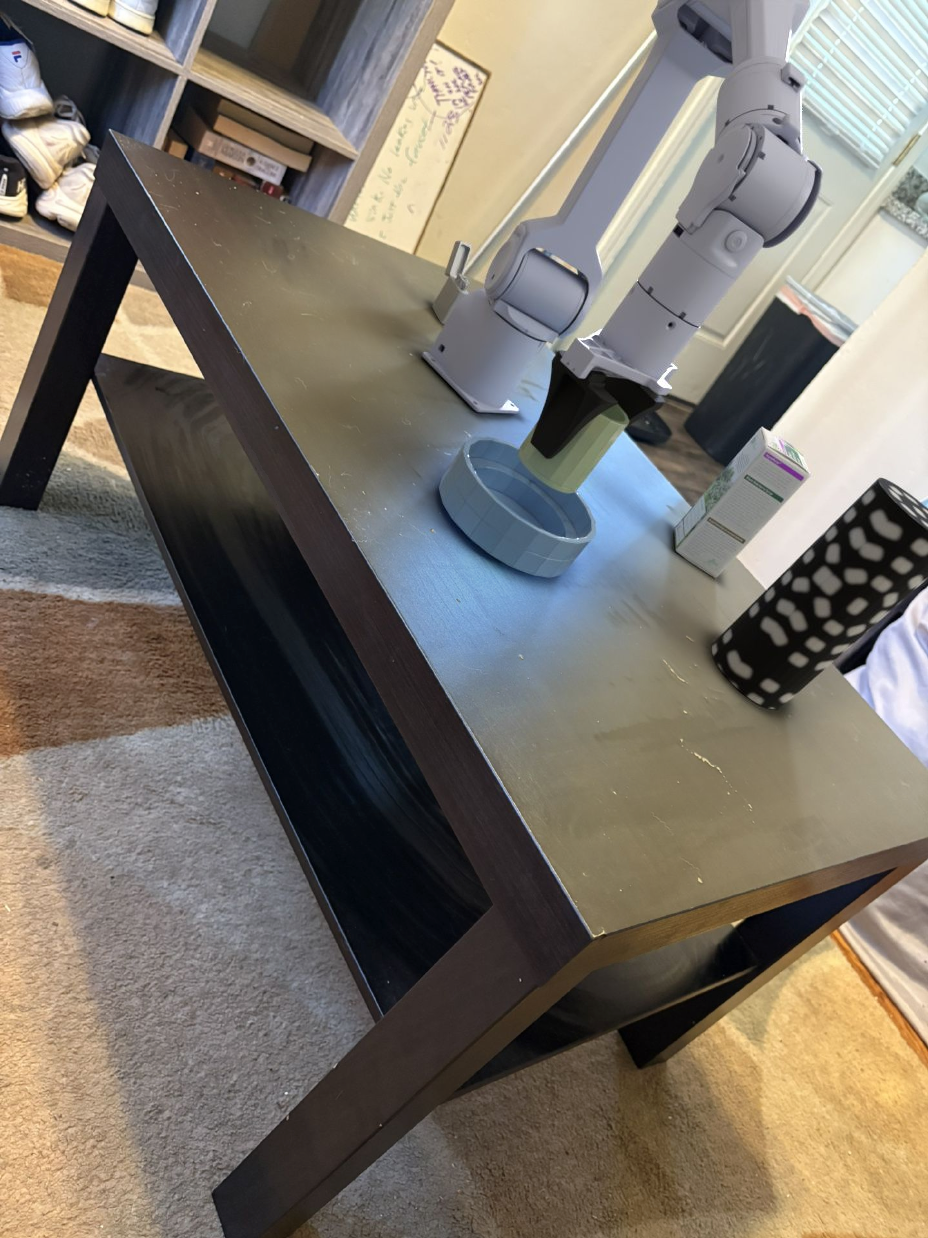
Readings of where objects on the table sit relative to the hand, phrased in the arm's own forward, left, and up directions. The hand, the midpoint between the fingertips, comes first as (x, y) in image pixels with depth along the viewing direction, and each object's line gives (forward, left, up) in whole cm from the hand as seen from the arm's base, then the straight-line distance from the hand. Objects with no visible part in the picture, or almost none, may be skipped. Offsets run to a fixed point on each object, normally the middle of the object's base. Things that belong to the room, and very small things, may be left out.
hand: (560, 450), depth 70 cm
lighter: (-35, +27, -9) cm, 45 cm away
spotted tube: (+22, +16, -8) cm, 28 cm away
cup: (0, 0, -2) cm, 2 cm away
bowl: (0, 0, -8) cm, 8 cm away
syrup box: (+8, +29, -9) cm, 31 cm away
